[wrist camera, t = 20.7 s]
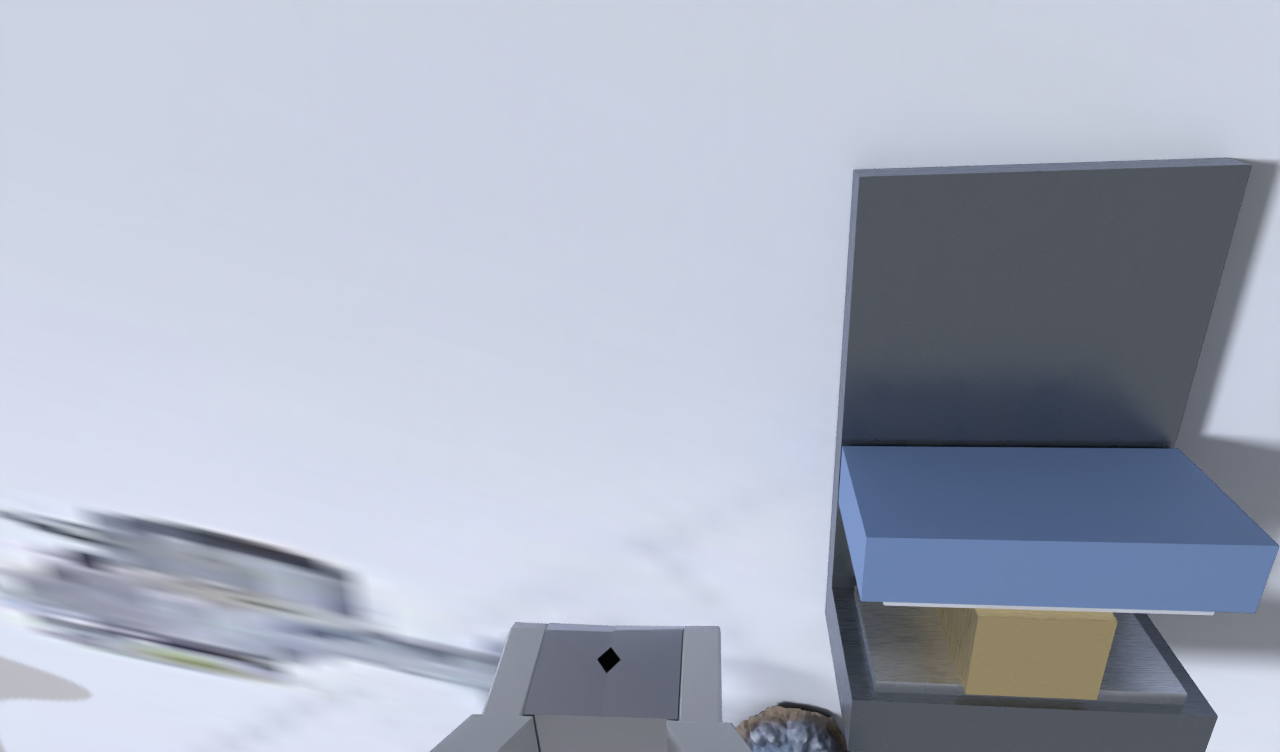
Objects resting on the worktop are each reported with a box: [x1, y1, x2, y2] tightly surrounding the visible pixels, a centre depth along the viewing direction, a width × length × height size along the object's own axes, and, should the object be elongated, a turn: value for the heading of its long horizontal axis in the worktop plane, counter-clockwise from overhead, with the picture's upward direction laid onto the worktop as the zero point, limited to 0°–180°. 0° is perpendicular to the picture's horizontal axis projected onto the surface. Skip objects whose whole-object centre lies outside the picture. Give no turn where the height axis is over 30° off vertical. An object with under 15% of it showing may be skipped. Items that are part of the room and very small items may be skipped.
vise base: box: [825, 158, 1252, 752], centre depth 31 cm, size 23×14×8 cm, turn 3°
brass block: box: [935, 607, 1118, 700], centre depth 33 cm, size 4×5×7 cm
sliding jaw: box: [838, 446, 1279, 615], centre depth 31 cm, size 4×14×7 cm, turn 93°
